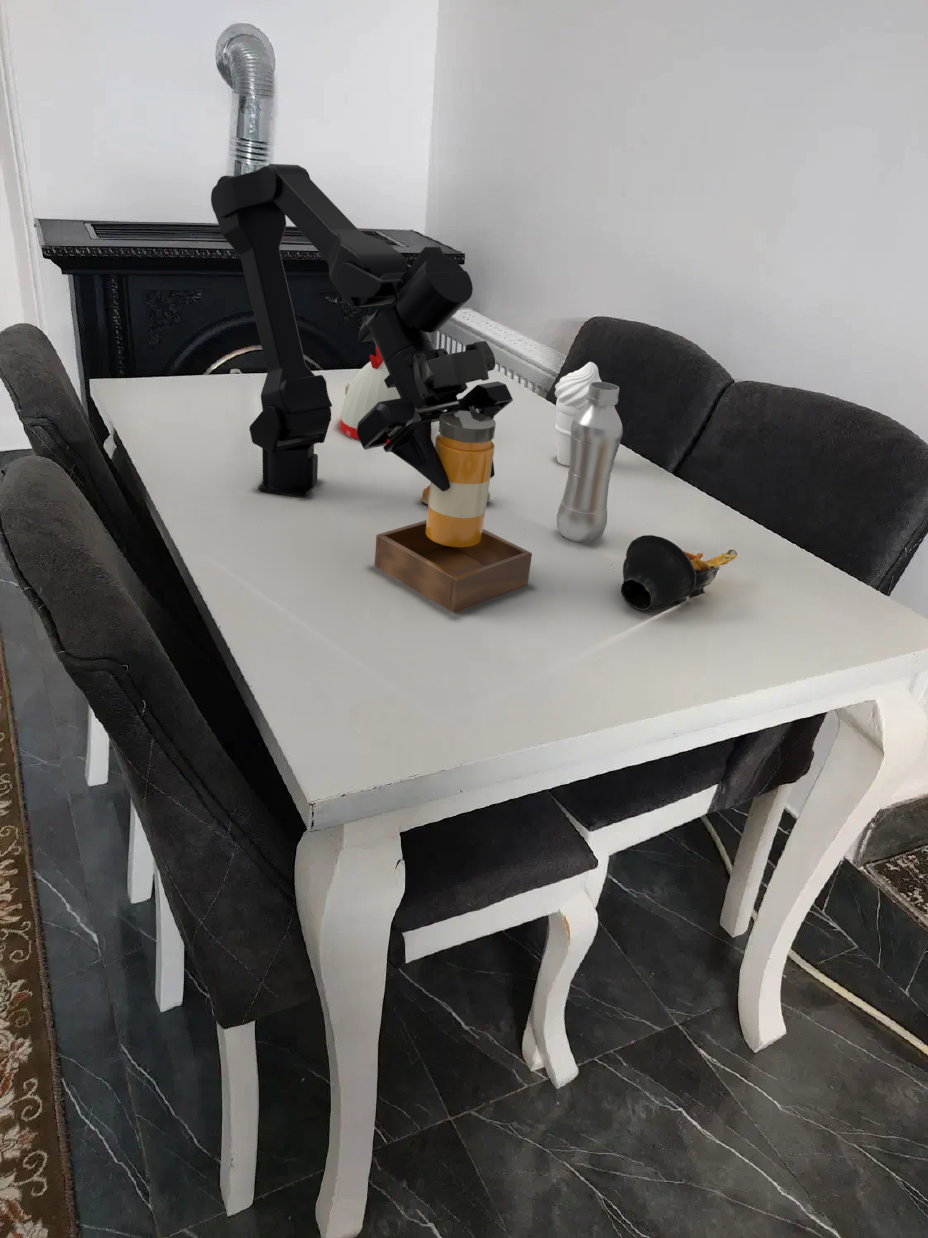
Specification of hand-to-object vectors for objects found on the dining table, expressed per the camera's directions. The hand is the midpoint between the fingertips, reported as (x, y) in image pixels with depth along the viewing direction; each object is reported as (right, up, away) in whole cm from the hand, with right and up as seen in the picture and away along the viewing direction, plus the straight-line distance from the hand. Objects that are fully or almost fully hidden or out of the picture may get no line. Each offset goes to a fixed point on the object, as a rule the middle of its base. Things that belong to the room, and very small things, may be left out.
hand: (469, 483), depth 100 cm
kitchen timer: (-14, +16, +51) cm, 55 cm away
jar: (-2, -5, +4) cm, 7 cm away
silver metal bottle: (+14, -4, +21) cm, 26 cm away
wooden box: (-2, -10, +7) cm, 12 cm away
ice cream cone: (+16, +10, +46) cm, 50 cm away
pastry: (-2, +1, +27) cm, 27 cm away
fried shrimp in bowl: (+25, -12, +9) cm, 29 cm away
